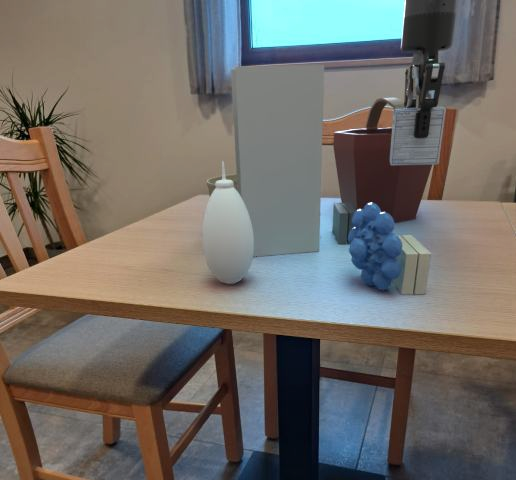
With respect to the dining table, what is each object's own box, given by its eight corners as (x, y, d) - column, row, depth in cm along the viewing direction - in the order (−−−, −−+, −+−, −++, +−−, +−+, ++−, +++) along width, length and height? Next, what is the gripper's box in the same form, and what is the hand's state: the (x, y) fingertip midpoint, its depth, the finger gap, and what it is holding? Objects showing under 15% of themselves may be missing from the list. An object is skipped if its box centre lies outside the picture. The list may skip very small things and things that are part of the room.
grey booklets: (348, 231, 99) (349, 202, 96) (355, 243, 90) (357, 212, 87) (332, 231, 99) (333, 202, 96) (338, 244, 90) (339, 213, 87)
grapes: (326, 278, 73) (328, 201, 67) (361, 272, 75) (367, 196, 70) (369, 304, 64) (377, 215, 58) (409, 295, 66) (419, 209, 60)
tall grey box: (311, 243, 91) (315, 67, 77) (319, 251, 86) (324, 64, 72) (240, 249, 89) (230, 69, 75) (244, 257, 85) (235, 67, 71)
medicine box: (435, 162, 81) (442, 106, 77) (439, 165, 77) (446, 107, 73) (388, 162, 82) (393, 108, 78) (390, 166, 79) (395, 109, 74)
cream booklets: (407, 271, 75) (411, 234, 72) (425, 294, 66) (431, 253, 63) (386, 272, 75) (389, 235, 72) (401, 294, 66) (406, 254, 63)
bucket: (434, 228, 99) (452, 95, 87) (329, 227, 102) (334, 100, 90) (417, 205, 120) (431, 96, 108) (331, 205, 123) (335, 99, 112)
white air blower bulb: (211, 274, 77) (201, 158, 69) (257, 274, 76) (253, 157, 68) (201, 291, 70) (189, 164, 62) (252, 291, 69) (246, 163, 61)
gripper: (472, 3, 63) (453, 139, 71) (440, 19, 76) (426, 133, 84) (416, 6, 64) (403, 141, 72) (394, 22, 76) (385, 135, 84)
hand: (416, 136), depth 78 cm, fingers closed on medicine box, 5 cm apart
